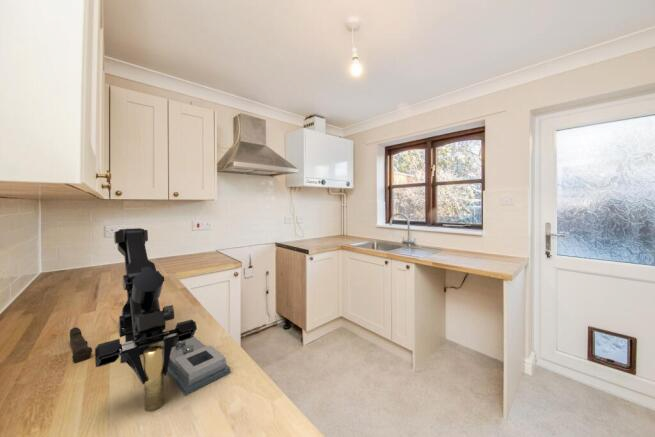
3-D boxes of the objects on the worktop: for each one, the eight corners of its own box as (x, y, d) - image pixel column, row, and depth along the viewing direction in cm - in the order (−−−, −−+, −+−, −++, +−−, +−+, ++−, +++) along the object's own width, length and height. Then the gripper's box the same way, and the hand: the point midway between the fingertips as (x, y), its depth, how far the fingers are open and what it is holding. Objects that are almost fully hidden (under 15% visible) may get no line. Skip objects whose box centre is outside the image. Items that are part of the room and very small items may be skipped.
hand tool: (92, 359, 73) (92, 343, 73) (72, 365, 70) (72, 349, 70) (85, 336, 85) (85, 323, 85) (68, 341, 82) (68, 327, 82)
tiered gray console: (156, 358, 73) (155, 343, 73) (196, 343, 81) (195, 329, 81) (184, 395, 58) (184, 377, 58) (229, 372, 67) (229, 356, 67)
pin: (142, 405, 55) (141, 350, 55) (161, 396, 58) (160, 343, 58) (147, 414, 53) (146, 356, 53) (166, 404, 56) (165, 349, 55)
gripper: (93, 306, 51) (95, 388, 44) (194, 287, 64) (209, 348, 56) (94, 330, 57) (96, 406, 50) (186, 309, 70) (198, 366, 62)
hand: (155, 379), depth 54 cm, fingers closed on pin, 3 cm apart
